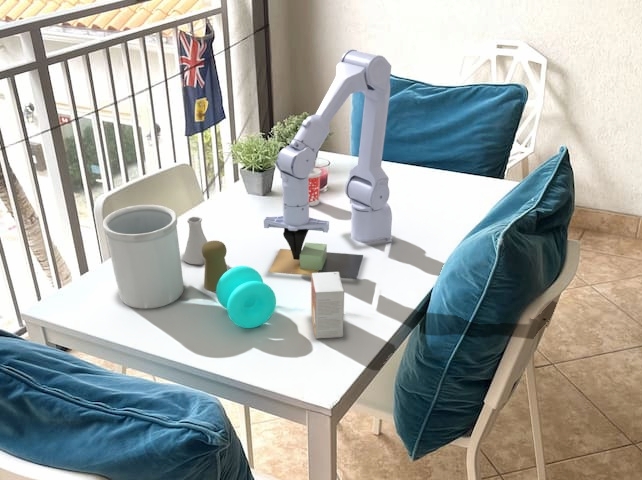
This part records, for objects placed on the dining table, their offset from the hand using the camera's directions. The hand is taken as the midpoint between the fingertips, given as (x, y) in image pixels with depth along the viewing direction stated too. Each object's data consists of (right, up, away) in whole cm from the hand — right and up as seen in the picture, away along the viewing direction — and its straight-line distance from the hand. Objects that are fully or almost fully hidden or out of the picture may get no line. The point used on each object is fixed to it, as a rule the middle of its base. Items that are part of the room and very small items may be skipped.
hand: (297, 257), depth 160 cm
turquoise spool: (-10, -14, -18) cm, 25 cm away
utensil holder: (-31, -9, -9) cm, 34 cm away
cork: (-17, -8, -8) cm, 20 cm away
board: (+4, -2, 0) cm, 5 cm away
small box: (+6, -16, -21) cm, 28 cm away
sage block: (+4, -1, 0) cm, 4 cm away
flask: (-23, 0, +5) cm, 24 cm away
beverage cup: (+3, +19, +33) cm, 38 cm away
